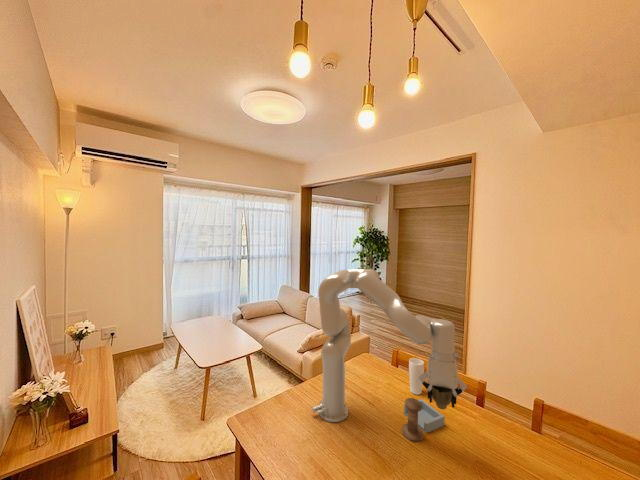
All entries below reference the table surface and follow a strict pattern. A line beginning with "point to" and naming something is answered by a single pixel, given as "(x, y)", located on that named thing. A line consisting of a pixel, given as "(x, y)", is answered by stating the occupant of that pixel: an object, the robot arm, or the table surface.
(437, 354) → the robot arm
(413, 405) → the bobbin
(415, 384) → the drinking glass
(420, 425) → the open box
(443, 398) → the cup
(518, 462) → the table surface
